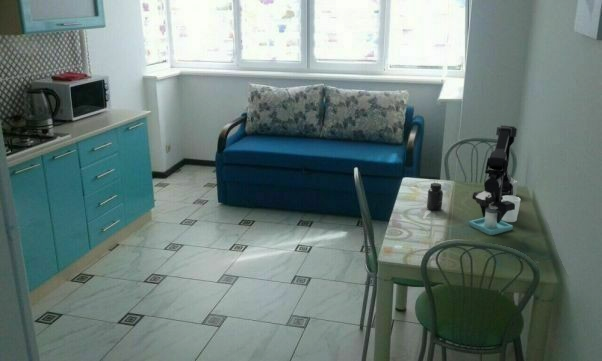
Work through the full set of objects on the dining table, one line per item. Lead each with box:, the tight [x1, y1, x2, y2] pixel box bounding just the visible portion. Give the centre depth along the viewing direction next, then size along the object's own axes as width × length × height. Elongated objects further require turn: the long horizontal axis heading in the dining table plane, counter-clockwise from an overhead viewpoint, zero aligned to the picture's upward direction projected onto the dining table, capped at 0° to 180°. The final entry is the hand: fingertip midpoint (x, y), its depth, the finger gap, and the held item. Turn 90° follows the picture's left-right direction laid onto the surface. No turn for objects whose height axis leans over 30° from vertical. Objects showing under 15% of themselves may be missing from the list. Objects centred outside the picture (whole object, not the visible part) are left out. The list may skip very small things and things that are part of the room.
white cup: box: [501, 195, 521, 223], centre depth 244 cm, size 8×8×10 cm
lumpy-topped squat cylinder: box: [509, 177, 518, 197], centre depth 277 cm, size 10×13×9 cm
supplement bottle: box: [426, 182, 444, 212], centre depth 257 cm, size 7×7×12 cm
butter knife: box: [422, 210, 432, 220], centre depth 246 cm, size 1×24×3 cm
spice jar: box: [484, 205, 498, 229], centre depth 235 cm, size 5×5×8 cm
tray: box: [468, 217, 514, 236], centre depth 237 cm, size 13×13×2 cm
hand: (491, 219), depth 236 cm, fingers open, 7 cm apart
